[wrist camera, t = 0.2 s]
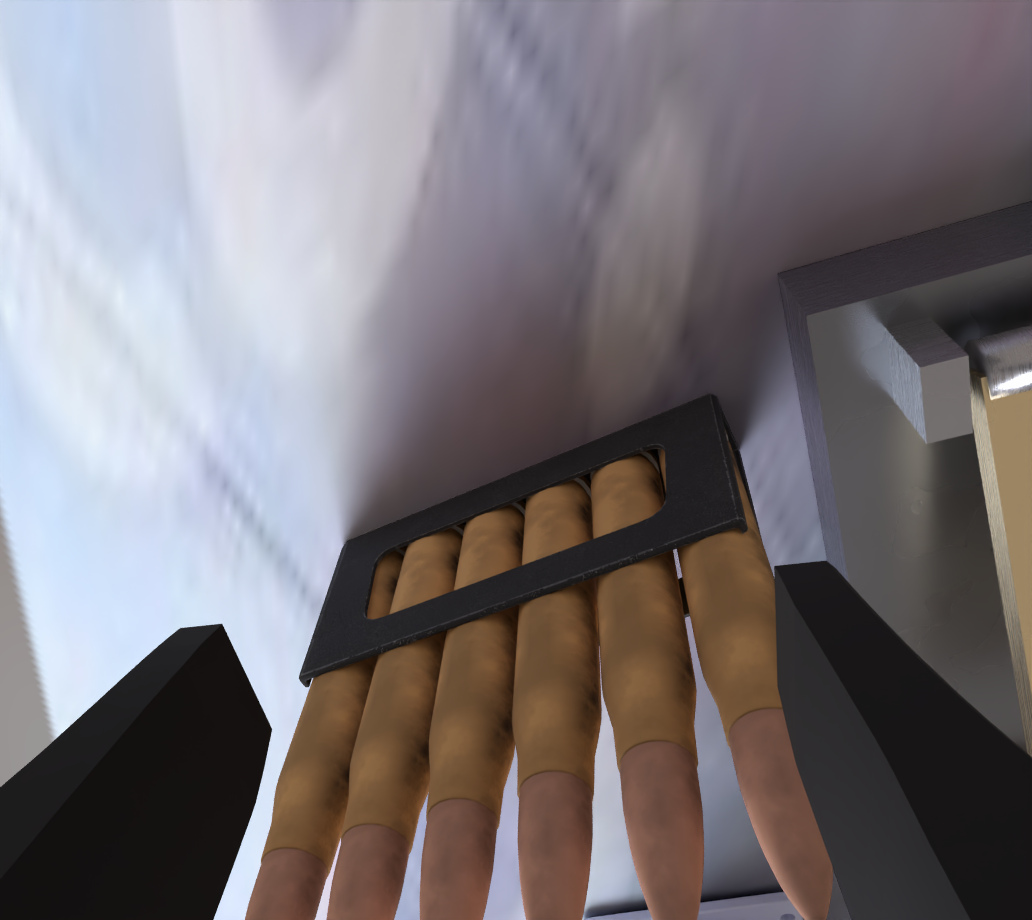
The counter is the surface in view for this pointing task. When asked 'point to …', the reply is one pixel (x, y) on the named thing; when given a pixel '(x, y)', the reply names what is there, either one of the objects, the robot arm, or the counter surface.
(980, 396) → the tan long flat bar
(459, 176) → the counter surface
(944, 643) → the block
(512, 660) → the ammunition clip
